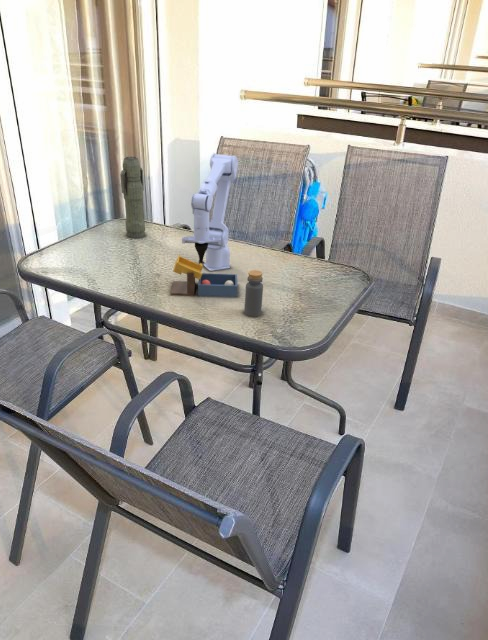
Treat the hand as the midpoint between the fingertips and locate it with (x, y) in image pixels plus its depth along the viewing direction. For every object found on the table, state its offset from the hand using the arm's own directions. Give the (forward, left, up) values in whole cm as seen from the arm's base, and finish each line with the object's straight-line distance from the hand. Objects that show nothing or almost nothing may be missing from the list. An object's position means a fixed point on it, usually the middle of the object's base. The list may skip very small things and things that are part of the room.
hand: (201, 261), depth 195 cm
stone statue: (+7, -61, -8) cm, 62 cm away
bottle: (-5, +33, -8) cm, 35 cm away
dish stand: (+10, +6, -8) cm, 14 cm away
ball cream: (-6, +13, -5) cm, 15 cm away
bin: (-2, +11, -8) cm, 14 cm away
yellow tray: (+7, +3, -1) cm, 8 cm away
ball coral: (+2, +9, -5) cm, 11 cm away
